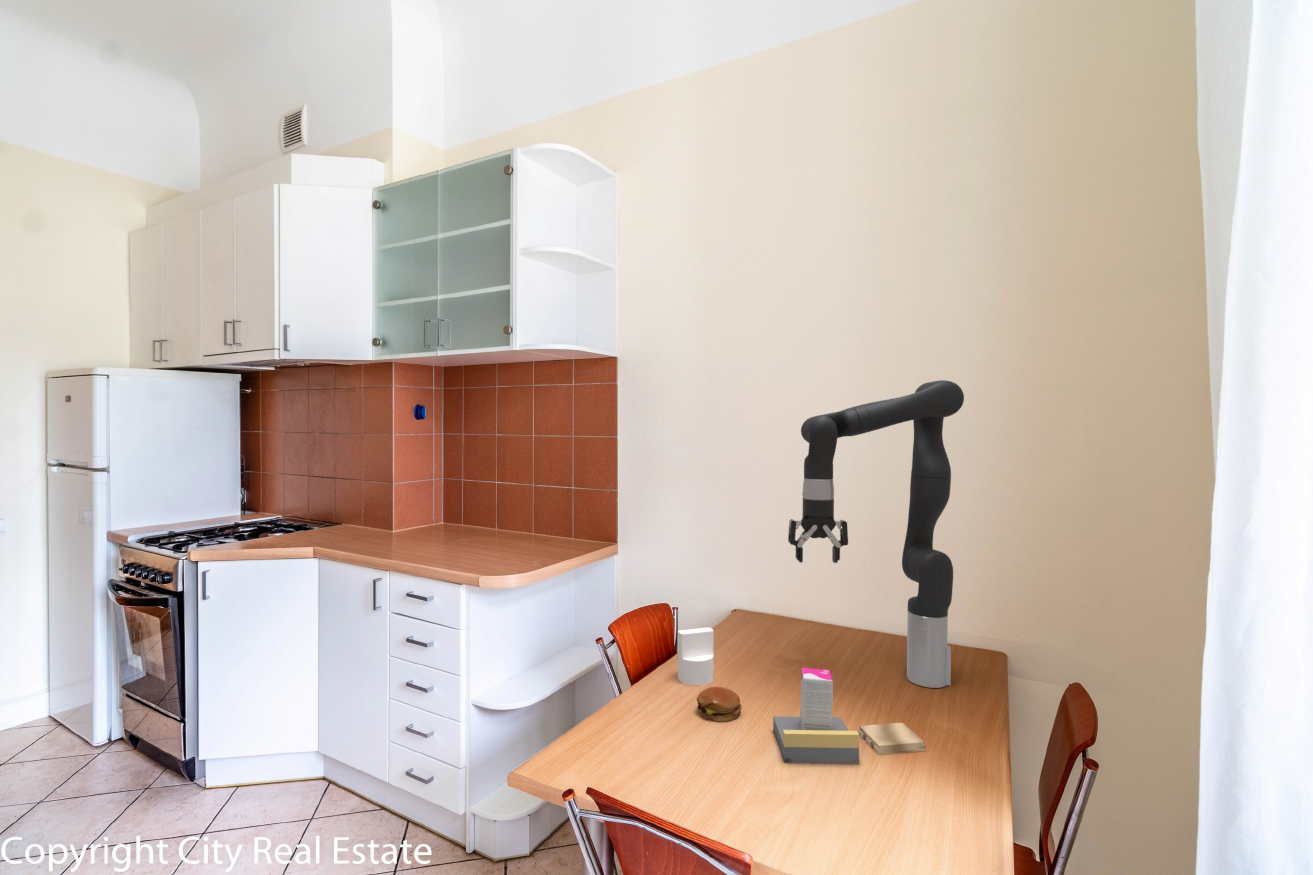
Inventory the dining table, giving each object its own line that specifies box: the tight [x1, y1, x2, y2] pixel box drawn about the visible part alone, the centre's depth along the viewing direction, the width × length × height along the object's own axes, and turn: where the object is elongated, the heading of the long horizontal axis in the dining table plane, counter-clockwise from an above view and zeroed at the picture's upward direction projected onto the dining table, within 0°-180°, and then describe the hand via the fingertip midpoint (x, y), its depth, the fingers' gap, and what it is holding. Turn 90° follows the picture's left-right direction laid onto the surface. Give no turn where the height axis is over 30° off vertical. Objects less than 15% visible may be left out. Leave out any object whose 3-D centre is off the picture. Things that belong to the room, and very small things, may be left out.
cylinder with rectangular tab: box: [677, 626, 715, 686], centre depth 151 cm, size 9×9×12 cm
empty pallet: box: [858, 722, 927, 756], centre depth 120 cm, size 10×8×2 cm
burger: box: [696, 686, 742, 723], centre depth 133 cm, size 10×9×5 cm
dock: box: [772, 715, 860, 765], centre depth 118 cm, size 14×12×6 cm
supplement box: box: [799, 667, 834, 730], centre depth 119 cm, size 6×6×12 cm
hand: (817, 562), depth 148 cm, fingers open, 8 cm apart
